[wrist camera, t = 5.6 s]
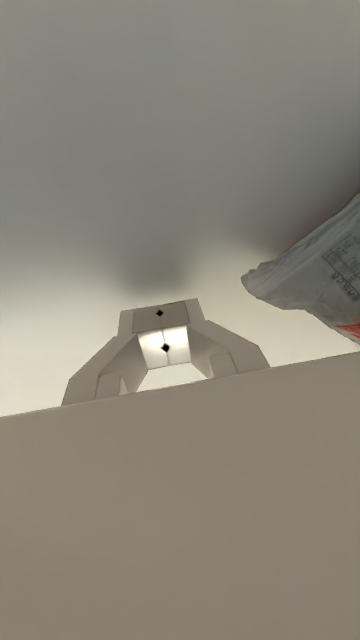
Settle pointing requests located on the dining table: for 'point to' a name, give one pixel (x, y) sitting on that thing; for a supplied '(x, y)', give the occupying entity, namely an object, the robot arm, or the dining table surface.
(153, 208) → the dining table surface
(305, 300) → the packaged food
